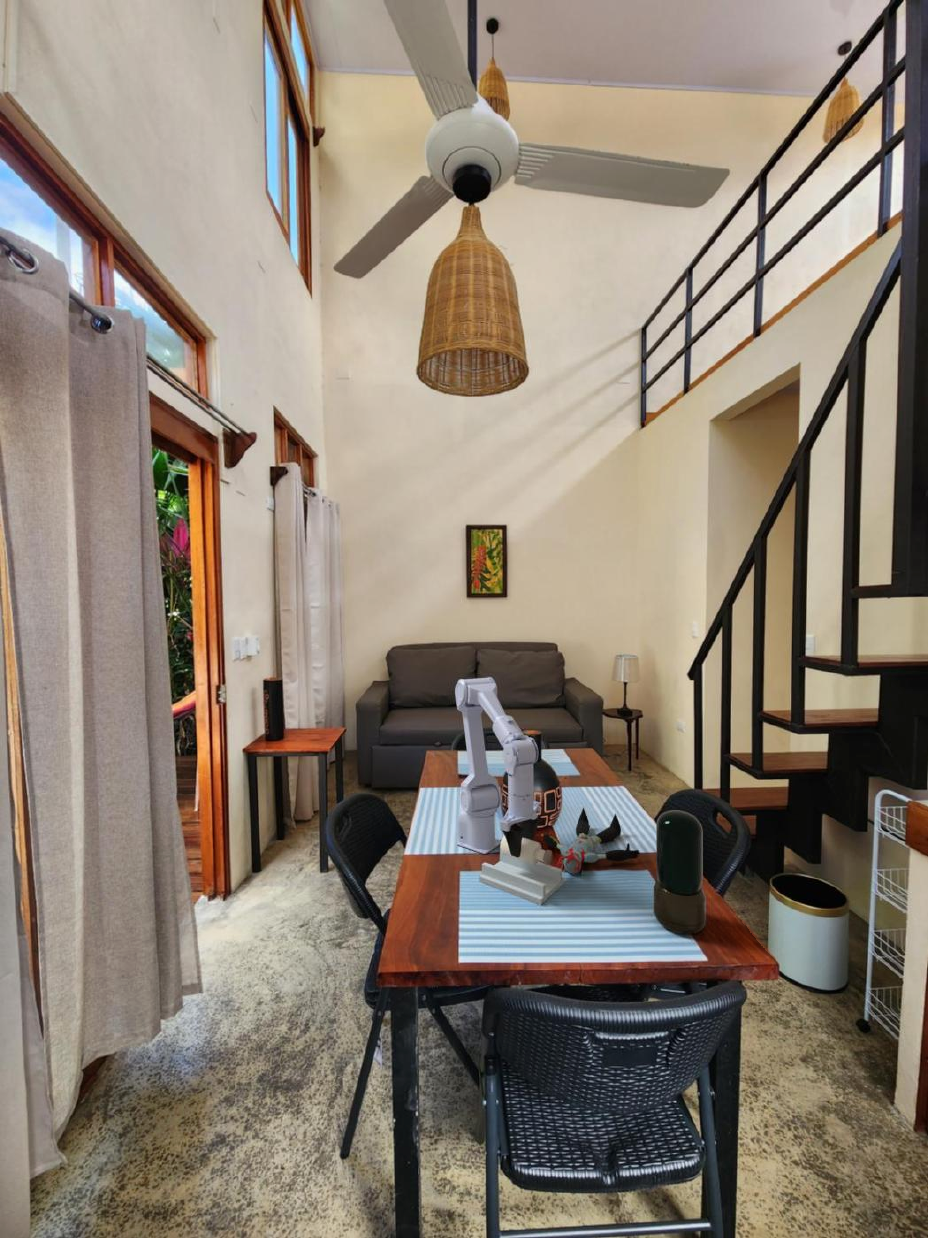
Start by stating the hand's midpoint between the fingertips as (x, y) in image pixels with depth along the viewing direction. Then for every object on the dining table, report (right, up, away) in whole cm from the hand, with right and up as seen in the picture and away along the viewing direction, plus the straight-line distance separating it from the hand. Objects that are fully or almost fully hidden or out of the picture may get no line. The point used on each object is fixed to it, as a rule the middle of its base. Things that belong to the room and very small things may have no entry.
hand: (521, 851), depth 118 cm
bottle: (+1, -2, -1) cm, 2 cm away
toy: (+18, -7, +13) cm, 23 cm away
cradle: (0, -7, 0) cm, 7 cm away
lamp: (+30, -7, -15) cm, 34 cm away
